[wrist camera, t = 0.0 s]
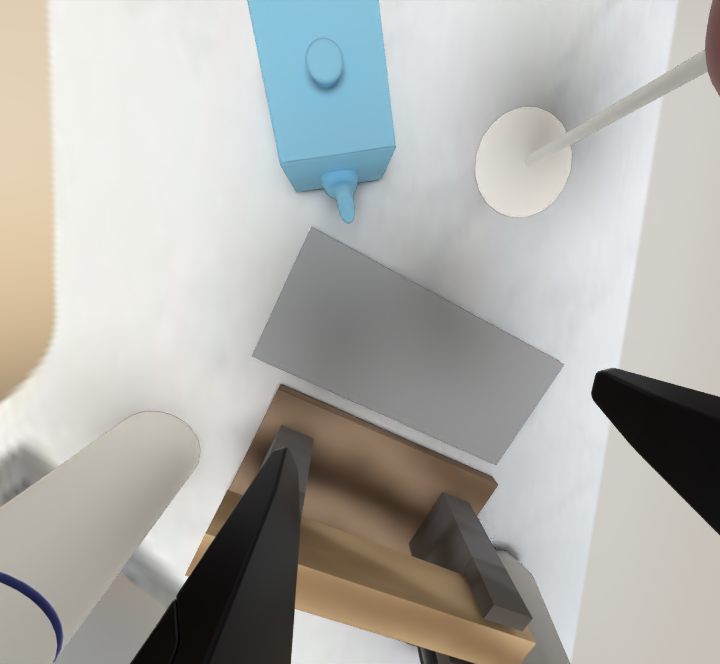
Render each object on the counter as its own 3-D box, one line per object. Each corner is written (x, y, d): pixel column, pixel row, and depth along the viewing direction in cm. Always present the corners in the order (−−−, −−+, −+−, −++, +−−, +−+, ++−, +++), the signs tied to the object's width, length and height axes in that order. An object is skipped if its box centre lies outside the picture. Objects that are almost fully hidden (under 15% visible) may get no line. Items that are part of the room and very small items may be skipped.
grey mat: (492, 460, 27) (496, 465, 26) (253, 354, 23) (251, 356, 22) (559, 362, 25) (564, 364, 24) (312, 228, 21) (311, 226, 21)
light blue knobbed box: (385, 230, 22) (408, 211, 14) (307, 242, 22) (289, 229, 14) (361, 44, 19) (374, -97, 12) (271, 56, 19) (227, -79, 11)
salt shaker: (506, 533, 29) (635, 739, 16) (528, 569, 30) (663, 785, 18) (456, 560, 29) (544, 782, 17) (480, 594, 31) (578, 825, 18)
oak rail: (488, 619, 22) (511, 674, 19) (209, 525, 18) (184, 575, 15) (509, 591, 21) (536, 643, 18) (227, 489, 18) (205, 533, 15)
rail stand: (430, 568, 29) (475, 718, 20) (226, 495, 26) (156, 633, 16) (492, 477, 27) (577, 593, 18) (280, 384, 24) (238, 465, 14)
